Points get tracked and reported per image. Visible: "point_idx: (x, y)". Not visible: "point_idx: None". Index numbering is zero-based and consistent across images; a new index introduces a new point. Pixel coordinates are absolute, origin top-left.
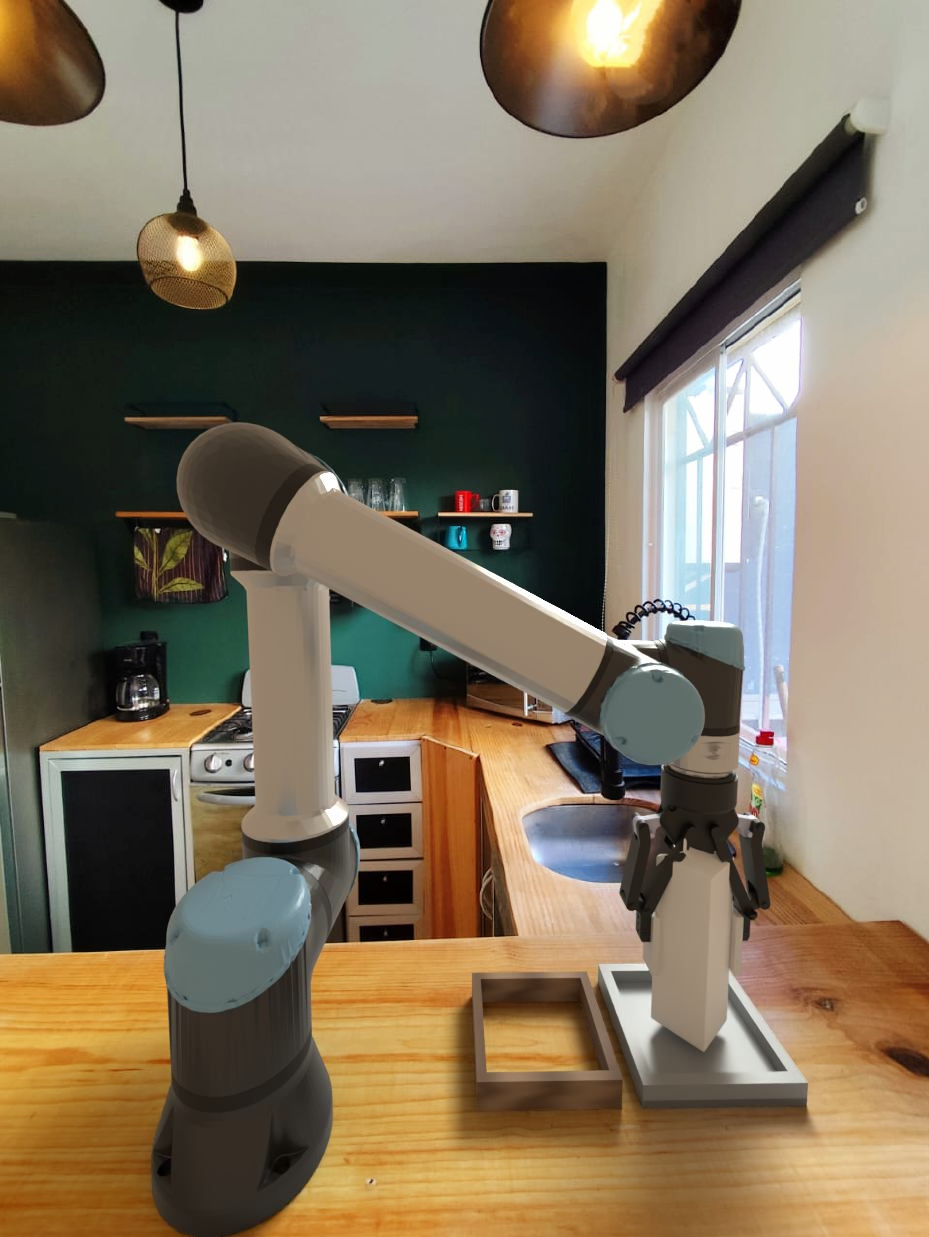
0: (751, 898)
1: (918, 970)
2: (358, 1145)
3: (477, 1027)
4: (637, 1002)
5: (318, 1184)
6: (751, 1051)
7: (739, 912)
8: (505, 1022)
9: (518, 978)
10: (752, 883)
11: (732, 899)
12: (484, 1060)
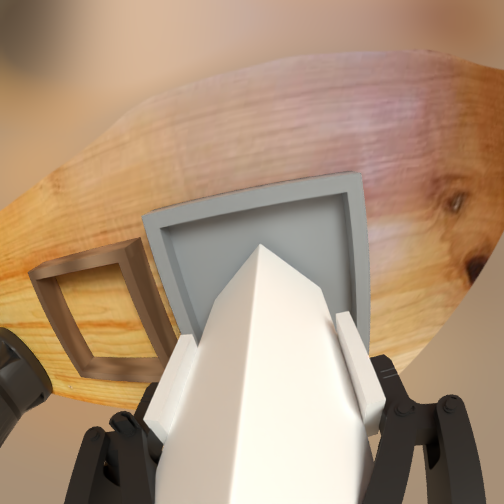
0: (418, 442)
1: None
2: (55, 372)
3: (58, 335)
4: (203, 254)
5: (55, 384)
6: (336, 305)
7: (379, 425)
8: (76, 289)
9: (60, 274)
10: (432, 470)
11: (370, 452)
12: (76, 363)
